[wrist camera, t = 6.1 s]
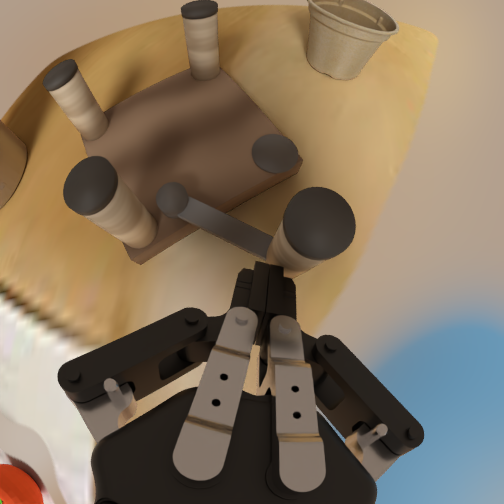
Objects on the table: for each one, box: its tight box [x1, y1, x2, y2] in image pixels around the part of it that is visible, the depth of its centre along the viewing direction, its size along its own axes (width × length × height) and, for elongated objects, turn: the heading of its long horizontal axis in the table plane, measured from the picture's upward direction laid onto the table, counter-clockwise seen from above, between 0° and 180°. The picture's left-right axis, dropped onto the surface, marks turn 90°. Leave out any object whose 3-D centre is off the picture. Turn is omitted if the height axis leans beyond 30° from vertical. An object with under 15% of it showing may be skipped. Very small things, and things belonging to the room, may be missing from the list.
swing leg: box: [156, 182, 356, 279], centre depth 14 cm, size 10×3×8 cm, turn 63°
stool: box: [43, 0, 303, 265], centre depth 16 cm, size 14×14×10 cm
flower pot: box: [307, 0, 399, 80], centre depth 20 cm, size 9×9×9 cm
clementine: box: [0, 464, 44, 504], centre depth 10 cm, size 8×7×7 cm
